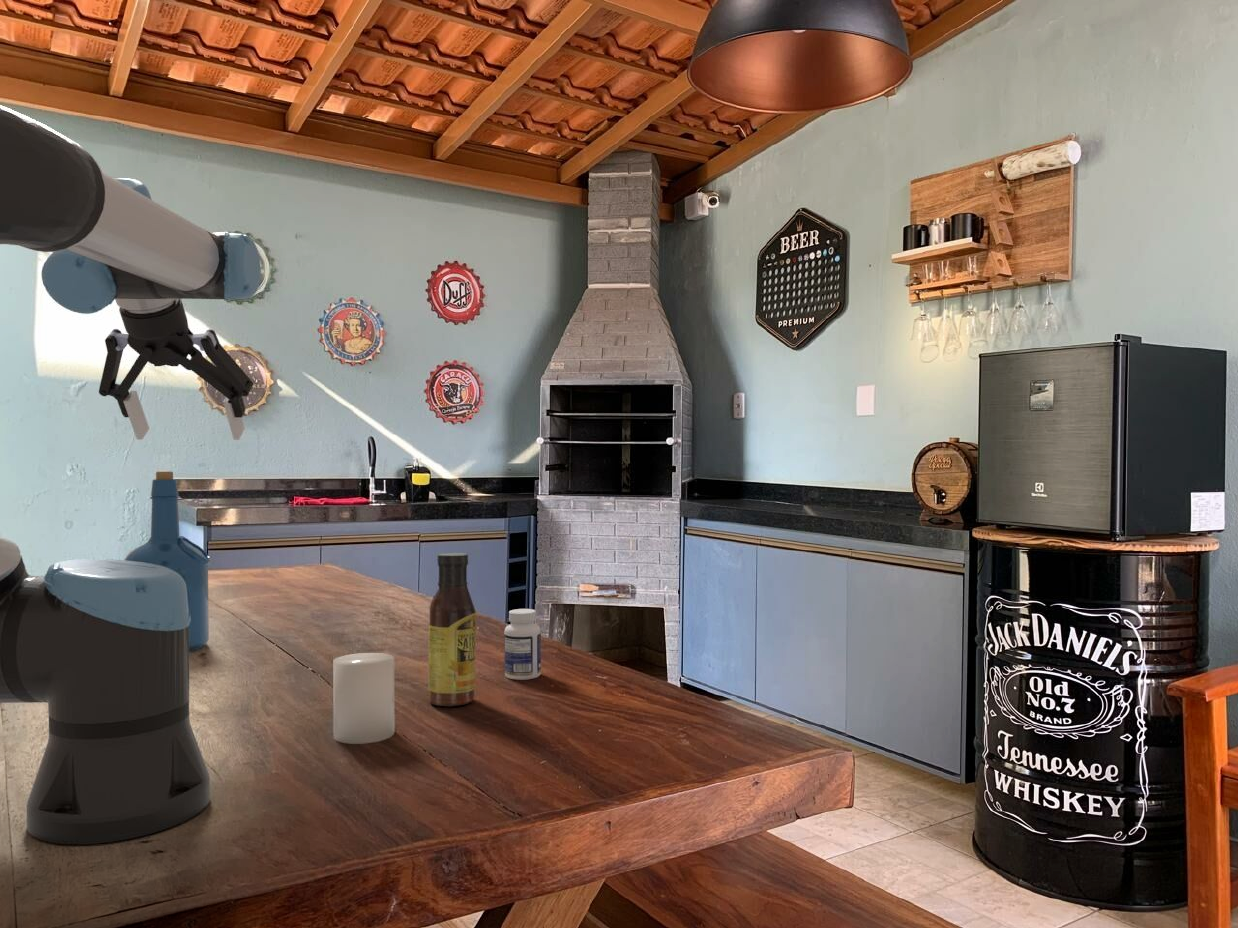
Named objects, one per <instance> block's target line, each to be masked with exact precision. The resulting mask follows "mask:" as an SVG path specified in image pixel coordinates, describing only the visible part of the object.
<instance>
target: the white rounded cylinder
mask: <svg viewBox="0 0 1238 928" xmlns="http://www.w3.org/2000/svg"><path fill="white" fill-rule="evenodd" d="M332 675H333V676H332V680H333V681H332V683H333V684H332V687H333V689H332V698H333V699H332V700H333V701H332V702H333V703H332V709H333V716H332V717H333V719H332V720H333V727H332V728H333V740H335V741H337V742H338V743H342V744H348V745H351V744H352V745H358V744H359V745H363V744H372V743H378V742H382V741H385V740H387V739H390V738H392V736H394V735H395V656H394V655H391V654H389V653H382V652H358V653H352V654H351V653H350V654H344V655H342V656H341V655H340V656H339V657H336V658H334V659H333V660H332Z"/></svg>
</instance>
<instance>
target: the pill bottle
mask: <svg viewBox="0 0 1238 928" xmlns="http://www.w3.org/2000/svg"><path fill="white" fill-rule="evenodd" d="M536 611H537V610H535V609H532V608H518V609H517V608H516V609H512V610H509V611H508V621H509V622H510V624H508V625H506V627H505V629H504V633H503V634H504V639H503V640H504V676H505V677H506V679H510V680H516V681H527V680H533V679H536V678H539V677H540V675H541V674H542V646H541V645H542V644H541V643H542V637H541V636H542V635H541V634H542V633H541V627H540V626H539V624H536V623H535V622H536V620H537V612H536Z"/></svg>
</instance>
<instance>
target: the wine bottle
mask: <svg viewBox="0 0 1238 928" xmlns="http://www.w3.org/2000/svg"><path fill="white" fill-rule="evenodd" d="M150 491H151V493H150V497H149V499H150V500H151V516H150V519H151V520H150V537H149V539H148V540H147V541H146V542H145V543H143V544H141V545H140V546H137V547H136V548H134V549H133V550H130V551H129V552H128V553H127V554H126V556H125V557H124V560H127V561H136V562H144V563H150V564H155V565H160V566H163V567H166V568H169V569H171V570H173V571H175V572H177V573H178V574H179V575H180V576H181V577H182V578H183V579H184V581H185V583H186V587H187V597H188V609H189V613H190V615H191V621H190V624H189V653H190V652H193V651H196V650H199V649H201V648H203V647H205V646H207V644H208V641H209V638H210V637H209V634H210V633H209V629H210V628H209V626H210V625H209V624H210V623H209V621H210V620H209V619H210V618H209V566H208V565H209V564H210V563H211V560H212V559H211V557H210V556H209V554H208V553H207V552H206V551H205V550H204V549H203V548H202V547H201V546H199V545H198V544H195V543H194V542H192V541H191V540H190V539H188V538H186V537H185V536H183V535H180V523H179V522H180V521H179V519H180V518H179V502H178V501H179V500H178V499H180V496H179V488H178V480H177V479H176V478H174V472H173V471H172V470H158V471H156V472H155V478H154V479H152V483H151V489H150Z"/></svg>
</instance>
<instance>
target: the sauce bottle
mask: <svg viewBox="0 0 1238 928" xmlns="http://www.w3.org/2000/svg"><path fill="white" fill-rule="evenodd" d="M468 565H469V555H468V554H467V553H464V552H447V553H439V554H437V566H438V582H437V585H438V589H437V590H436V593H435V594H434V596H433V598H432V599H431V601H430V605H429V623H428V659H427V661H428V667H427V668H428V670H427V671H428V673H427V674H428V675H427V677H428V678H427V679H428V681H427V683H428V684H427V685H428V688H427V689H428V690H429V695H428V696H429V697H428V698H429V702H430V703H431V704H432V705H434V706H437V707H449V708H450V707H456V706H457V707H458V706H463V705H467V704H469V703H472V702H473V700H474V698H475V690H476V670H477V669H476V659H477V658H476V657H477V656H476V654H477V653H476V651H477V650H476V648H477V646H476V645H477V639H476V638H477V634H476V633H477V611H476V609H475V605H474V603H473V599H472V597H471V594H470V591H469V588H468V581H467V579H468V577H467V576H468V573H467V568H468Z"/></svg>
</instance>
